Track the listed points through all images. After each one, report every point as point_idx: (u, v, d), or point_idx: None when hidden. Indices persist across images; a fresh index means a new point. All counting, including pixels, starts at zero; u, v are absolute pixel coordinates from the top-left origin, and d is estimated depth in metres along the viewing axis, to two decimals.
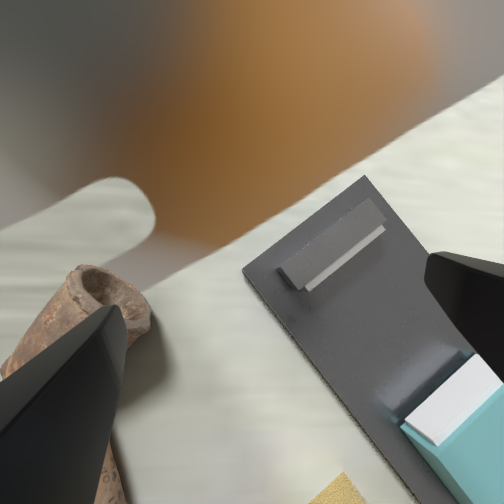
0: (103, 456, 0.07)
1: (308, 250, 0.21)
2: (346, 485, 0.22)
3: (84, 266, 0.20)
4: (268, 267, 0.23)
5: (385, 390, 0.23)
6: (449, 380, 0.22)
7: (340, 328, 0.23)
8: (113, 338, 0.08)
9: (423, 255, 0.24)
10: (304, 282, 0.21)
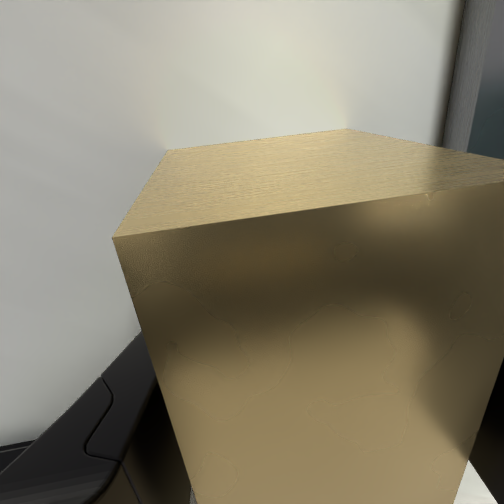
0: None
1: None
2: (357, 134, 0.08)
3: None
4: None
5: None
6: None
7: None
8: None
9: None
10: None
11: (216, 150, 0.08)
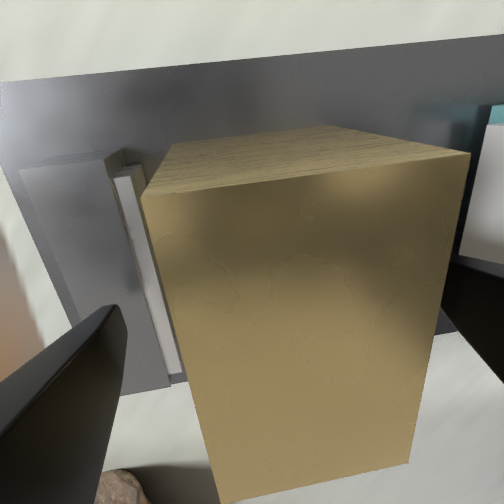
0: (103, 457, 0.07)
1: None
2: (335, 129, 0.09)
3: None
4: None
5: None
6: (472, 210, 0.11)
7: None
8: (113, 338, 0.08)
9: (249, 75, 0.09)
10: (161, 374, 0.11)
11: (215, 143, 0.09)
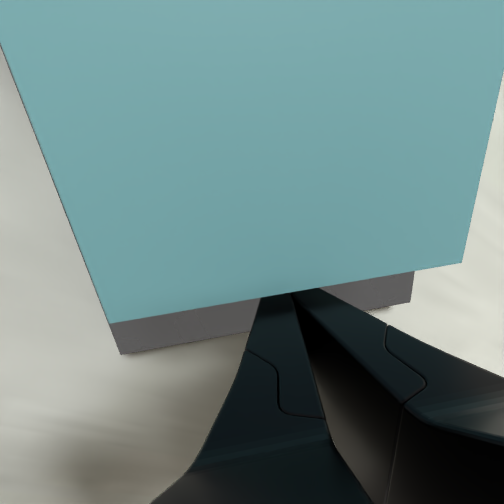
0: None
1: None
2: None
3: None
4: None
5: None
6: None
7: None
8: None
9: None
10: None
11: None
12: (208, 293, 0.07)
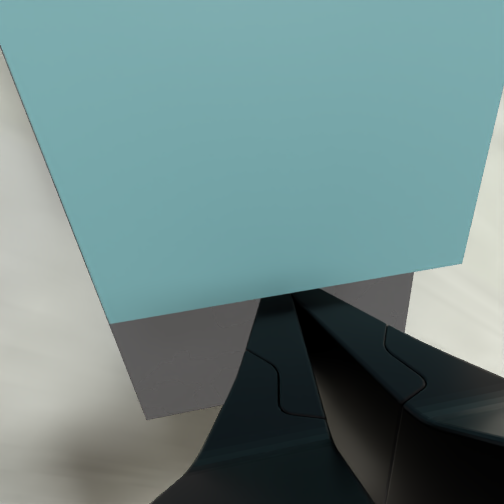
0: None
1: None
2: None
3: None
4: None
5: None
6: None
7: None
8: None
9: None
10: None
11: None
12: (209, 294, 0.07)
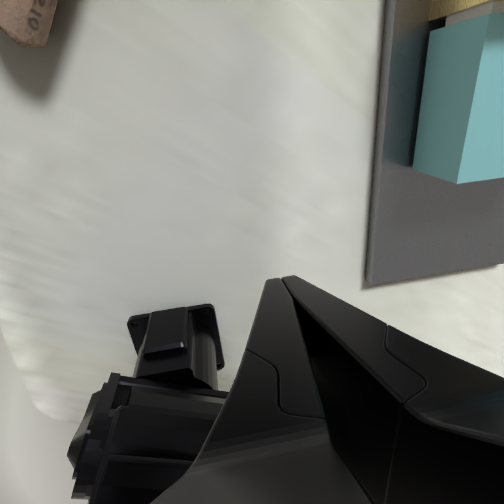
0: None
1: None
2: None
3: None
4: None
5: None
6: None
7: None
8: None
9: None
10: None
11: None
12: (494, 172, 0.17)
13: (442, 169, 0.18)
